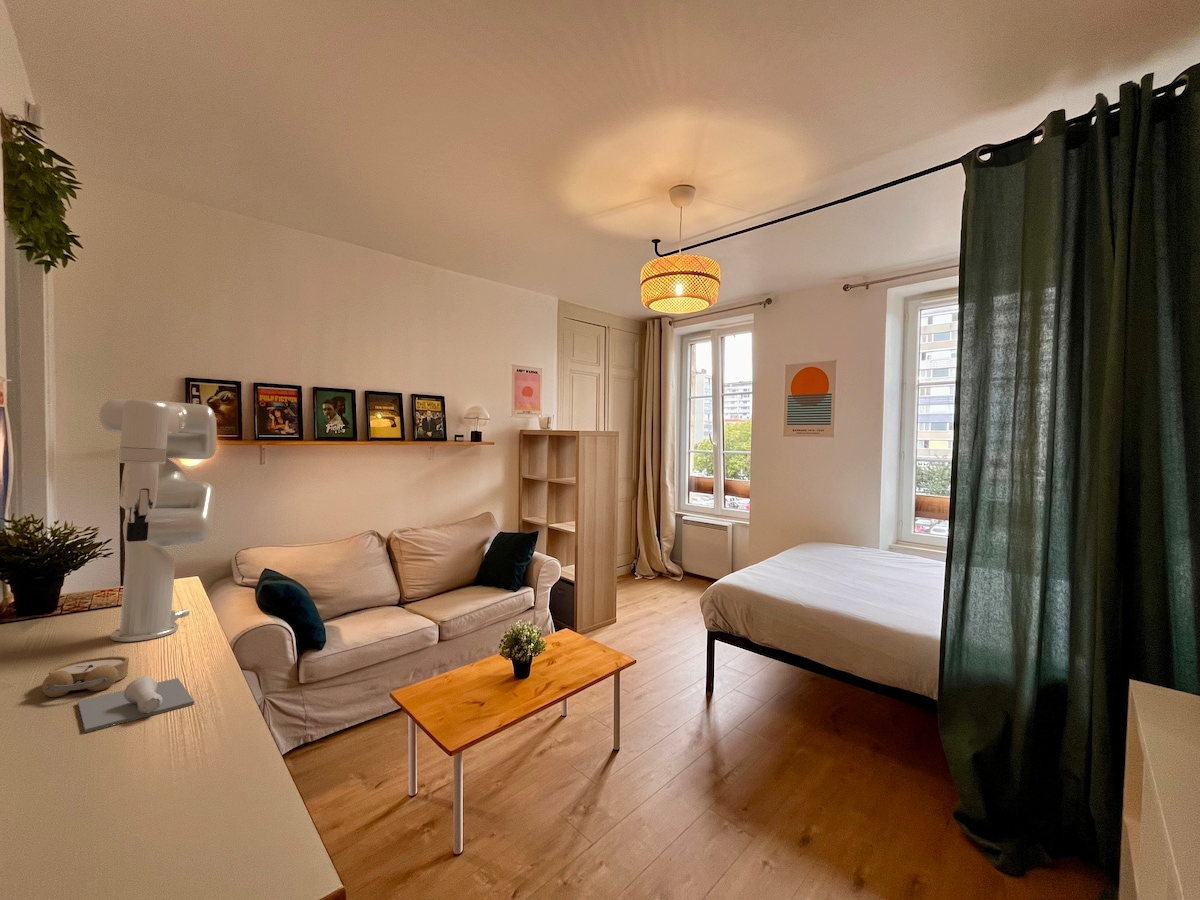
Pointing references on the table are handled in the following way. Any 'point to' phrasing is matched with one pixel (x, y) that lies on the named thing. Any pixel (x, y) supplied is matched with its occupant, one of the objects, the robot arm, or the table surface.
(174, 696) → the mat
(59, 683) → the alarm clock
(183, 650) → the table surface
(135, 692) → the rook chess piece
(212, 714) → the table surface
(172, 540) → the robot arm
